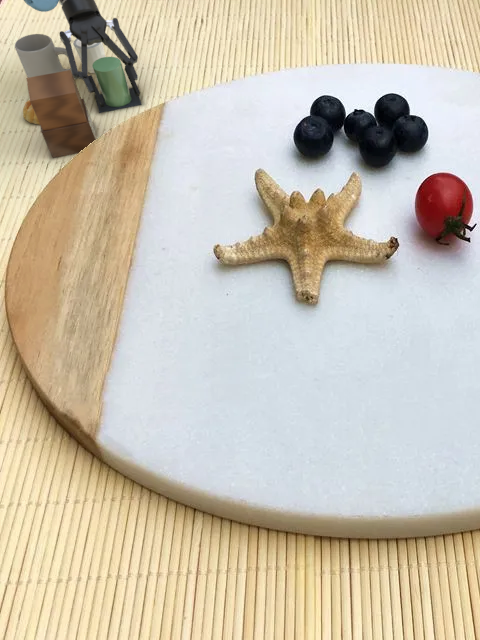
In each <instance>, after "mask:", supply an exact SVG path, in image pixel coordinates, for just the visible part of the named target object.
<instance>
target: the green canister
mask: <svg viewBox="0 0 480 640" xmlns="http://www.w3.org/2000/svg"><path fill="white" fill-rule="evenodd" d="M93 69H94V72H95V73H94V75H95V78H96V81H97V84H98V87H99V89H100V90H99V91H100V92H101V93H100V94H102V96H103V99H104V101H105V104H106V105H108V106H110V107H121V106H124V105H127V104H128V103H129V102H130V101H131V99H132V97H131V93H130V90H129V89H130V86H129V84H128V81H127V76H126V75H125V74H126V73H125V69H124V68H123V63H122V61H121V60H120V59H119V58H118V57H117V56H116V57H115V56H106V57H103V58H100V59H98V60H96V61H95V62H94V63H93Z"/></svg>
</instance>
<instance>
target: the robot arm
mask: <svg viewBox="0 0 480 640" xmlns="http://www.w3.org/2000/svg"><path fill="white" fill-rule="evenodd" d="M23 1H24V3H25V4H26V5H27V6H29V7H30V8H32V9H33V10H35V11H37V12H40V13H41V12H42V13H46V12H51V11H52V10H54V9H55V8H56V7H57V6H58V5H60V6H61V10H62V12H63V14H64V16H65V20H66V21H67V24H68V26H69V29H68V30H65V31H63V30H61V31H59V33H58V34H59V39H60V41H61V42H62V44H63V45H64V48H65V49H66V52H67V55H68V57H67V59H68V63H69V66H70V68H71V70H72V74H73V77H74V80H81V81H83V82H84V85H85V87H86V89H87V91H88V93H90V94H92V93H93V94H94V96H95V95H96V98H97V100H98V102H99V104H100V106H101V107H103V106H104V102H103V100H102V97H101V95H100V94H101V93H100V90H99V89H98V86H97V84H96V82H95V80H94V77H93V75H92V74H90V75H88V74H89V72H88V71H87V45H92V44H94V43H100V42H102V43H103V46H105V47H107V48H108V49H109V50H110V51H111V52H112V53H113V54H114V55H115V56H116V58H118V59H119V60H120V61H121V63H122V64H124V72H125V74H126V77H127V78H128V81H129V83H130V85H131V88H133V90H134V92H135V94H136V97H137V96H139V97H140V96H141V91H140V89H139V87H138V84H137V82H136V81H138V77H139V75H138V73H137V71H136V69H135V66H134V65H135V64H137V63H138V61H139V60H138V59H139V56H138V54H137V53H136V51H135V49H134V48H133V46H132V44H131V43H130V41H129V40H128V38H127V37H126V35H125V33H124V32H123V30H122V29H121V26H120V23H119V22H120V21H119V18H117V17H113V18H112V19H107V20H106V19H105V18H104V17H103V16H102V15H101V12H100V10H99V8H98V5H97V3H96V0H23ZM107 27H108V28H109V29H110V30H111V32H114V35H115V36H116V38H117V39H118V41H119V42H120V44H121V45H122V47H123V49H124V50H125V52H126V53H125V52H124V51H123V50H122V49H121V48H120V47H119V46H118V45H117V44H116V43H115V41H113V40H112V38H110V36H109V35H108V33H106V31H107ZM72 37H74V38H75V39H78V40H80V41H81V58H82V62H81V71H79V70H78V67H77V64H76V63H77V62H76V59H75V55H74V51H73V47H72V44H71V42H72ZM96 98H95V99H96Z"/></svg>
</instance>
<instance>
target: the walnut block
mask: <svg viewBox="0 0 480 640" xmlns="http://www.w3.org/2000/svg"><path fill="white" fill-rule="evenodd" d="M25 80H26V84H27V92H28V98H29V100H30V102H31V105H32V107H33V109H34V111H35V114H36V116H37V118H38V120H39V123H40V124H39V127H40V132H41V135H42V137H43V140H44V142H45V144H46V146H47V149H48V150H49V154H50V155H51V158H52V159H58V158H62V157H66V156H71V155H75V154H80V153H79V152H80V151H81V150H83V149H84V148H85V147H87V146H88V145H89V144H90V143H92V142H93V141H94V140H96V139H97V134H96V131H95V127H94V123H93V120H92V118H91V115H90V112H89V110H88V107H87V103H86V101H85V99H84V98H82V96H81V94H80V90H79V88H78V86H77V83H76V79H74V77H73V75H72V72H71V70H68V71H62V72H57V73H51V74H45V75H40V76H34V77H29V78H28V77H26V79H25Z"/></svg>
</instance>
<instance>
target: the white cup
mask: <svg viewBox="0 0 480 640" xmlns="http://www.w3.org/2000/svg"><path fill="white" fill-rule="evenodd" d="M72 45H73V47H74V49H75V51H76V53H77V56H78V58H79V60H80V62H81V63H82V58H81V41H80V40H78V39H77V38H75V39H74V40H73V43H72ZM103 57H107V56H106V51H105V48H104V44H103V42H100V43H94V44H92V45H87V71H88V73H90V74H95V72H94V69H93V63H94V62H95V61H96V60H98V59H100V58H103Z"/></svg>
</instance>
